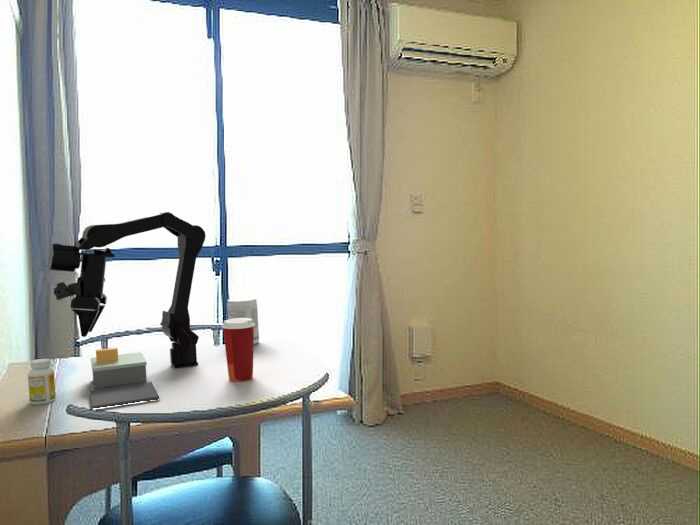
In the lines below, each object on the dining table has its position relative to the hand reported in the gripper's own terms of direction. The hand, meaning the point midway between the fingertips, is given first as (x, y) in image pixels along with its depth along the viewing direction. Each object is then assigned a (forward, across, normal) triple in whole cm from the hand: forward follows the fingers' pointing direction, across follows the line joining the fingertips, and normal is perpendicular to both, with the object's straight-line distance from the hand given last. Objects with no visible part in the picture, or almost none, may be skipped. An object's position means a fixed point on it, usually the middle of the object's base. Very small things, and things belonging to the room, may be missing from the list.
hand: (86, 334), depth 152 cm
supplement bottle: (+14, +14, -6) cm, 21 cm away
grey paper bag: (+5, -30, +44) cm, 53 cm away
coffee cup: (+8, +12, +39) cm, 41 cm away
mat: (+12, +18, +12) cm, 24 cm away
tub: (+11, +4, +9) cm, 15 cm away
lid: (+6, +4, +9) cm, 11 cm away
